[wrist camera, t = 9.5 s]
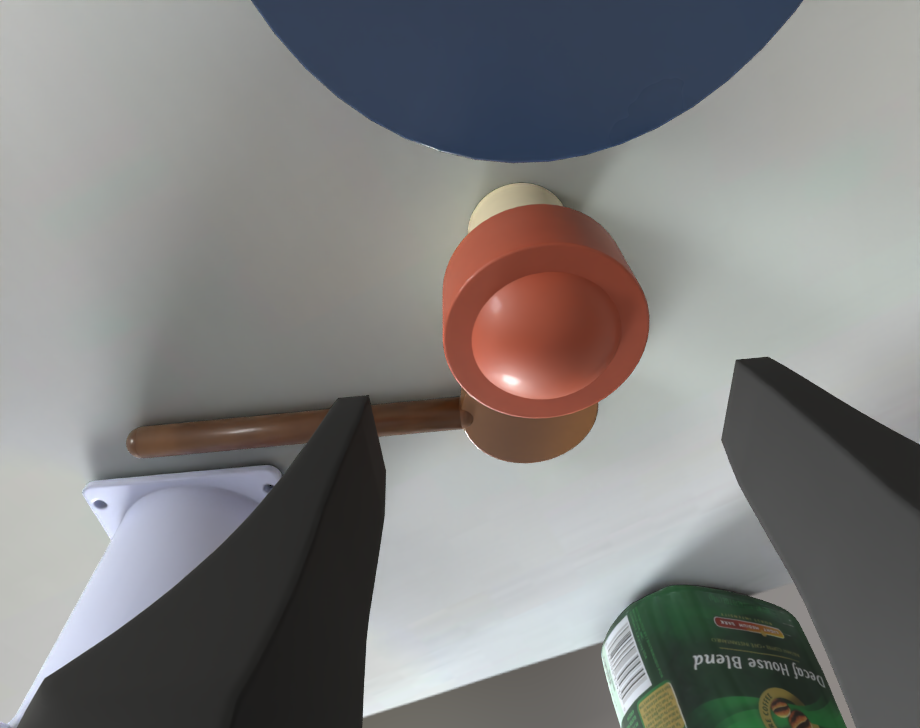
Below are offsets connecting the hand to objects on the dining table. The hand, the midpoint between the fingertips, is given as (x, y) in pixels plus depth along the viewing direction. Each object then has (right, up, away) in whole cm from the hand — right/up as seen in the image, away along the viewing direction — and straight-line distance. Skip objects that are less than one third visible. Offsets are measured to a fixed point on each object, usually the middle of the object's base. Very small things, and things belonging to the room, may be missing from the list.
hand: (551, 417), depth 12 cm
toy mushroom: (0, +5, +7) cm, 9 cm away
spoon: (-6, -1, +11) cm, 13 cm away
